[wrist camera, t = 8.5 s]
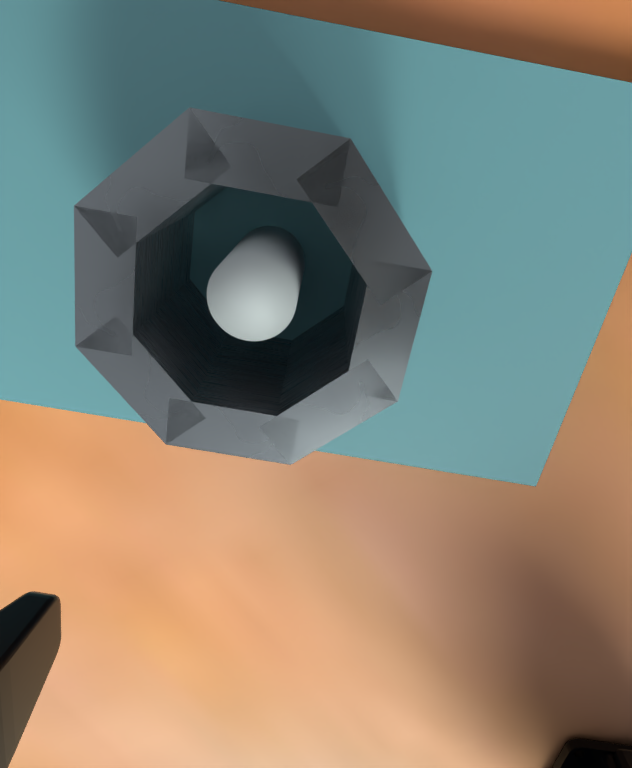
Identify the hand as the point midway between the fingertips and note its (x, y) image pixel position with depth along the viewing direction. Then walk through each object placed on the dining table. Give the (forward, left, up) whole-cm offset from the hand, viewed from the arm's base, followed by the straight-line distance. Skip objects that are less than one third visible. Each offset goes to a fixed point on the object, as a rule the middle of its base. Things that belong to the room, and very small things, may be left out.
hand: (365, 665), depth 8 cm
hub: (+3, +3, -10) cm, 11 cm away
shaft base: (+3, +3, -11) cm, 12 cm away
